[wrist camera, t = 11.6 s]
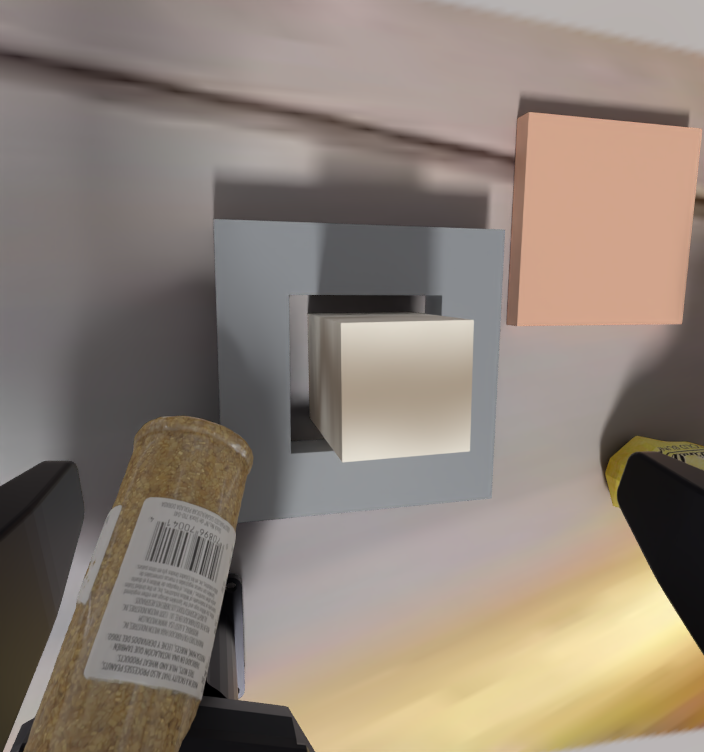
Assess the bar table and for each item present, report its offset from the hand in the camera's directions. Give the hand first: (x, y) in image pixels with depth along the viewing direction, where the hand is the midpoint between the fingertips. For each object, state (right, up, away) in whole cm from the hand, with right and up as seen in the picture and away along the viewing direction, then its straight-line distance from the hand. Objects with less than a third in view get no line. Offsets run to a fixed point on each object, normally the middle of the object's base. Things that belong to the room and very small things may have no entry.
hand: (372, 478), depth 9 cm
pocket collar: (0, +2, +17) cm, 18 cm away
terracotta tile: (+12, +9, +20) cm, 25 cm away
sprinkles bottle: (-6, -1, +12) cm, 14 cm away
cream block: (0, +2, +18) cm, 18 cm away
